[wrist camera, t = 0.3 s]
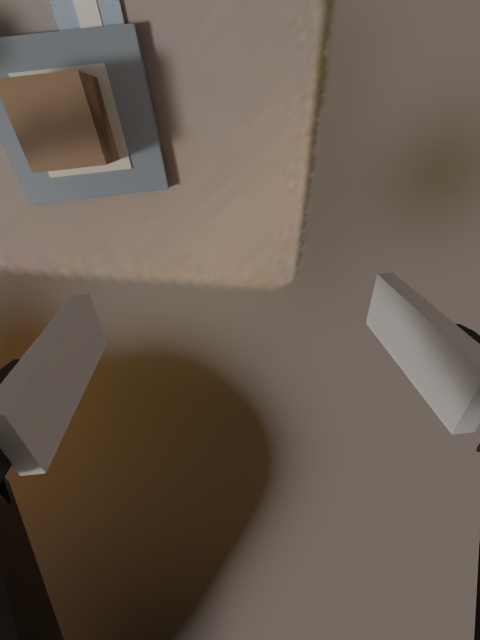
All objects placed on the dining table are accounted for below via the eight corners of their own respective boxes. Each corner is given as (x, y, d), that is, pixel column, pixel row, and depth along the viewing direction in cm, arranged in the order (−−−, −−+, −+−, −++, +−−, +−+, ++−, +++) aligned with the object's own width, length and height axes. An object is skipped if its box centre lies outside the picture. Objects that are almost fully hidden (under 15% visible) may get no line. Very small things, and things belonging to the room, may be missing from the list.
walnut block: (23, 85, 29) (-8, 79, 25) (96, 77, 29) (77, 69, 25) (55, 166, 33) (32, 173, 28) (119, 159, 33) (106, 164, 29)
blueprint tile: (31, -64, 25) (28, -67, 24) (103, -72, 25) (102, -74, 25) (70, 62, 29) (68, 61, 29) (131, 55, 29) (131, 55, 29)
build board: (-36, 44, 28) (-47, 41, 27) (136, 26, 28) (133, 22, 27) (35, 202, 36) (29, 204, 34) (169, 187, 36) (168, 189, 35)
